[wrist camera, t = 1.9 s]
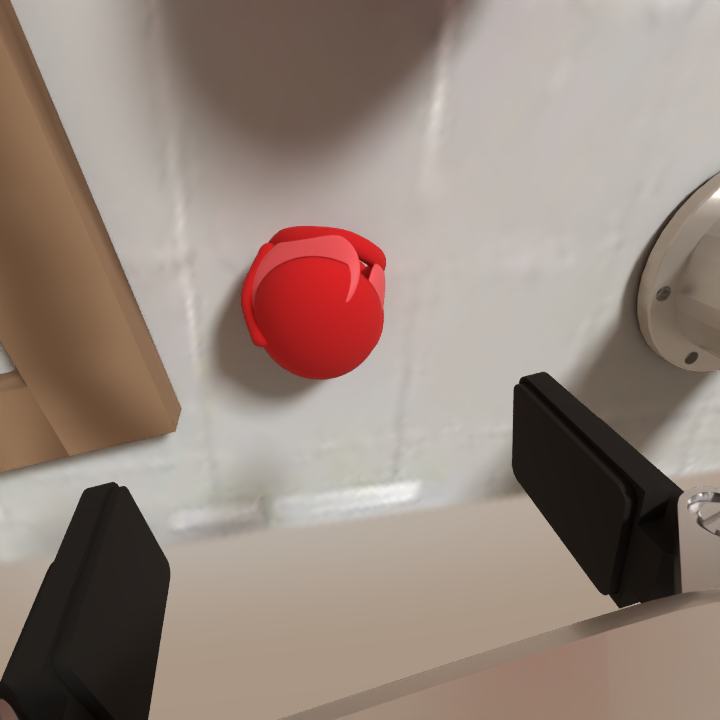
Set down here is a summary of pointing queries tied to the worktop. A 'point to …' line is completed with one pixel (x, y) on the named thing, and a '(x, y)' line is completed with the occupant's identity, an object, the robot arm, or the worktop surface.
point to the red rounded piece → (316, 300)
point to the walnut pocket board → (63, 292)
